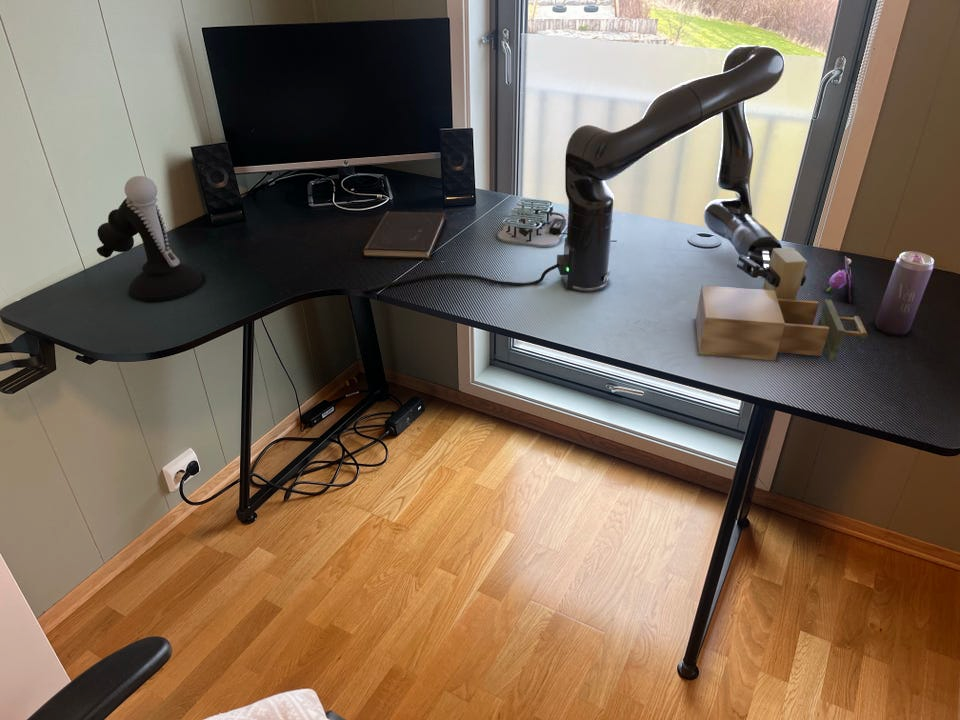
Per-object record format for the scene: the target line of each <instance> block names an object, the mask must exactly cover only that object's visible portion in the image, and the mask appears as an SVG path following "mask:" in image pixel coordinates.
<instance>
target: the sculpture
mask: <svg viewBox="0 0 960 720" xmlns="http://www.w3.org/2000/svg"><path fill="white" fill-rule="evenodd" d="M123 191H124V194H125V197H126V198H125V199H124V200H123V201H122V202H121V203H120V205H119V206H118V208H115V209H112V210H111V211H110V212H109V213H108V216H107V222H104V223H102V224H101V225H99V226H98V228H97V237H98V240H99V242H101V244H102V245H101V246H99V247H97V248H96V253H98V255H99V256H101V257H103V258H105V259H108V258H110V257H111V256H112V255H113V253H114V252H116V253H126V252H129V251H130V250H132V249H133V248H134V245H135V239H134V236H136V235H137V234H138V235H139V237H140V238H141V240H142V244H143V247H144V252H145V257H146V262H144V264H143V265H142V267H141V270H142V271H141V272H139V273H138V274H137V275H136V276H135V278H133V280H132V282H131V283H130V285H129V291H130V294H131V296H132V297H133V298H134V299H136V300H138V301H142V302H149V303H151V302H152V303H154V302H156V303H157V302H166V301H171V300H176V299H179V298H182V297H184V296H187V295H188V294H190V293H193V292H194V291H196V290H197V289H198V288H199V287H200V286H201V285H202V283H203V280H204V279H203V274H202V271H200V269H198V268H196V267H194V266H192V265H190V264H186V263H183V262H181V260H180V259H179V258H178V257H177V256H176V254H174V252H173V250H172V249H171V248H170V246H169V245H170V243H169V242H168V241H169V238H168V234H167V233H168V231H167V226H166V225H165V224H166V223H165V221H163V220H164V218H163V217H162V216H163V214H162V213H160V212H161V209H160V208H159V205H158V204H157V203H158V198H157V195H158V186H157V185H156V183H155V182H154V181H153V179H151V178H149V177H147V176H144V175H137V176H132V177H131V178H129V179H128V180H127V181H126V182H125V185H124V189H123Z"/></svg>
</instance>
